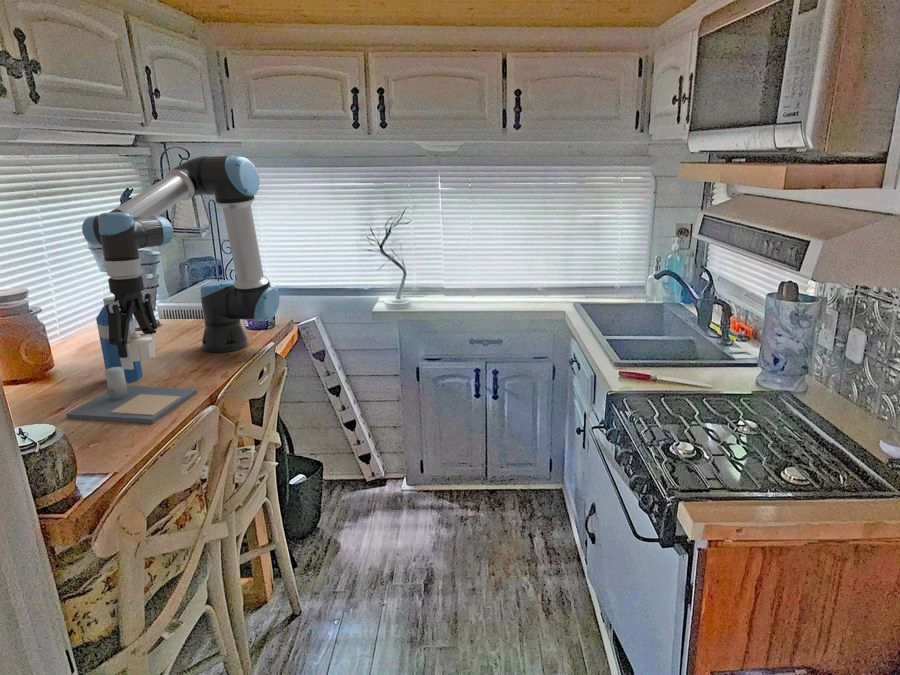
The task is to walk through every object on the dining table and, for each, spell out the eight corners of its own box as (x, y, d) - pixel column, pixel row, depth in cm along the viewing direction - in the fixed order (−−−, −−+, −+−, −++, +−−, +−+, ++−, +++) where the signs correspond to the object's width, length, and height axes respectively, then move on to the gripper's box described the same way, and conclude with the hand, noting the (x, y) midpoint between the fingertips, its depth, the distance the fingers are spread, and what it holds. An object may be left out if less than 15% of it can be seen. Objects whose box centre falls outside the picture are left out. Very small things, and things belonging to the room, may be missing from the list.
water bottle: (143, 380, 174) (129, 299, 167) (107, 386, 169) (92, 303, 162) (141, 371, 182) (128, 293, 174) (107, 376, 177) (92, 296, 170)
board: (119, 389, 167) (114, 358, 165) (197, 393, 164) (192, 362, 162) (66, 418, 148) (59, 384, 146) (153, 423, 145) (147, 389, 143)
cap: (156, 350, 154) (153, 329, 153) (154, 359, 147) (150, 337, 146) (122, 353, 151) (118, 332, 150) (118, 363, 144) (114, 341, 143)
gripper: (138, 268, 154) (151, 350, 160) (79, 284, 134) (97, 376, 140) (164, 269, 153) (176, 351, 159) (109, 285, 133) (125, 378, 139)
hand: (139, 363), depth 150 cm, fingers closed on cap, 8 cm apart
